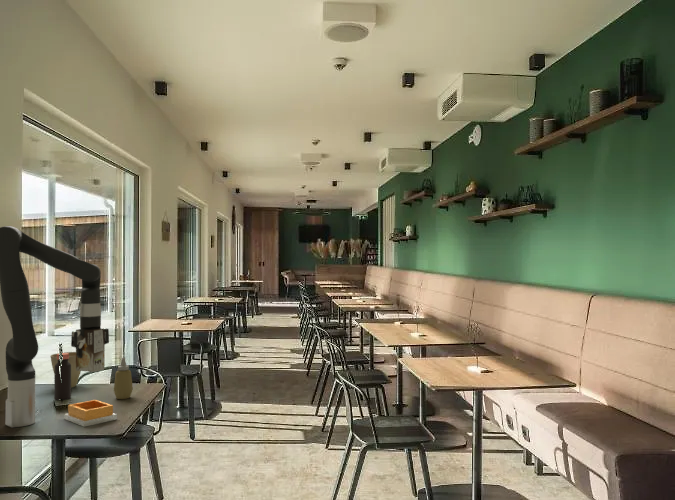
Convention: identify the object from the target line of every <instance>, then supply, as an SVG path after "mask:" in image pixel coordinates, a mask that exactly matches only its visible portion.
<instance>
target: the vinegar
mask: <svg viewBox="0 0 675 500" xmlns="http://www.w3.org/2000/svg"><path fill="white" fill-rule="evenodd" d="M61 353H62V355H63V361H62V366H61V379H62V383H61V380H60V374H59V366H60V361H59V354H57V353H56V354H57V360H58V362H57V363H56V365H55V367H54V371H53V375H54V377H53V379H54V382H53V383H54V384H53V386H54V387H53V388H54V389H53V390H54V396H53V397H54V400H55V399H56V401H60V400H59V399H63V400H62V401H64V400H69V399H71V398H72V388H71V364H70V363H69V362H68V360H69V353H64V352H61Z"/></svg>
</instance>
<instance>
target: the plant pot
mask: <svg viewBox="0 0 675 500" xmlns="http://www.w3.org/2000/svg"><path fill="white" fill-rule="evenodd" d="M59 353H60V352H57V353H53V354H51V355H50V362H51V366H52V371H53V372H54V367H55V365H56V363H57V362H58V360H57V354H59ZM63 353H69V360H68V362H69V363H70V364H71V389H72V388H75V387H76V386H77V385H78V381H79V378H80V375H81V372H82V371H76V351H68V352H67V351H66V352H63Z"/></svg>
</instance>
